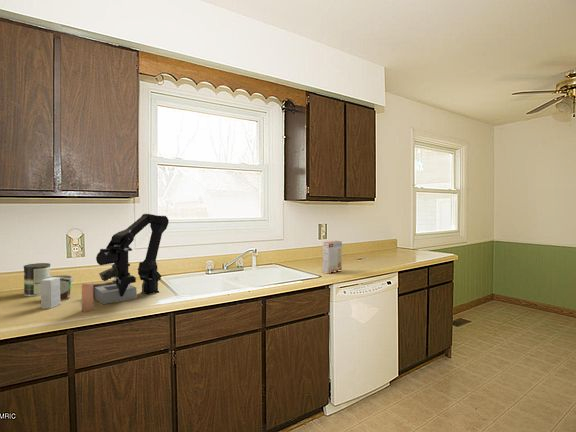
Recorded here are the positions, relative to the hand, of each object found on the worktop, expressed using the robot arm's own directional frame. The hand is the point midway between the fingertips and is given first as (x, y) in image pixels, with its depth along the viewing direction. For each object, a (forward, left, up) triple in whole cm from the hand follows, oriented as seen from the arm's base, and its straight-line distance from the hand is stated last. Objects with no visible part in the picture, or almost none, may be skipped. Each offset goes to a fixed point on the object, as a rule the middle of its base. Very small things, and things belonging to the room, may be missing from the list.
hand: (121, 296), depth 145 cm
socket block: (0, -9, -3) cm, 9 cm away
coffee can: (+25, -42, -3) cm, 49 cm away
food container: (+18, -26, -3) cm, 32 cm away
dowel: (+14, +3, -3) cm, 15 cm away
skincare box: (+24, -13, -3) cm, 27 cm away
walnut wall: (0, -17, -3) cm, 17 cm away
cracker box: (-127, +21, -3) cm, 129 cm away
